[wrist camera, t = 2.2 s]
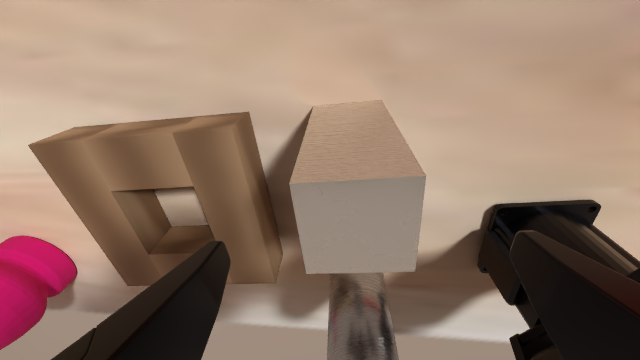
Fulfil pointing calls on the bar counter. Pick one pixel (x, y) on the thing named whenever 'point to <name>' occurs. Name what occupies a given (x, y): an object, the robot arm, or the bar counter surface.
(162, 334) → the robot arm
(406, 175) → the square bit
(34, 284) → the pepper mill
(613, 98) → the bar counter surface
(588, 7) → the bar counter surface
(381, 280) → the round bit
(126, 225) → the bore block
